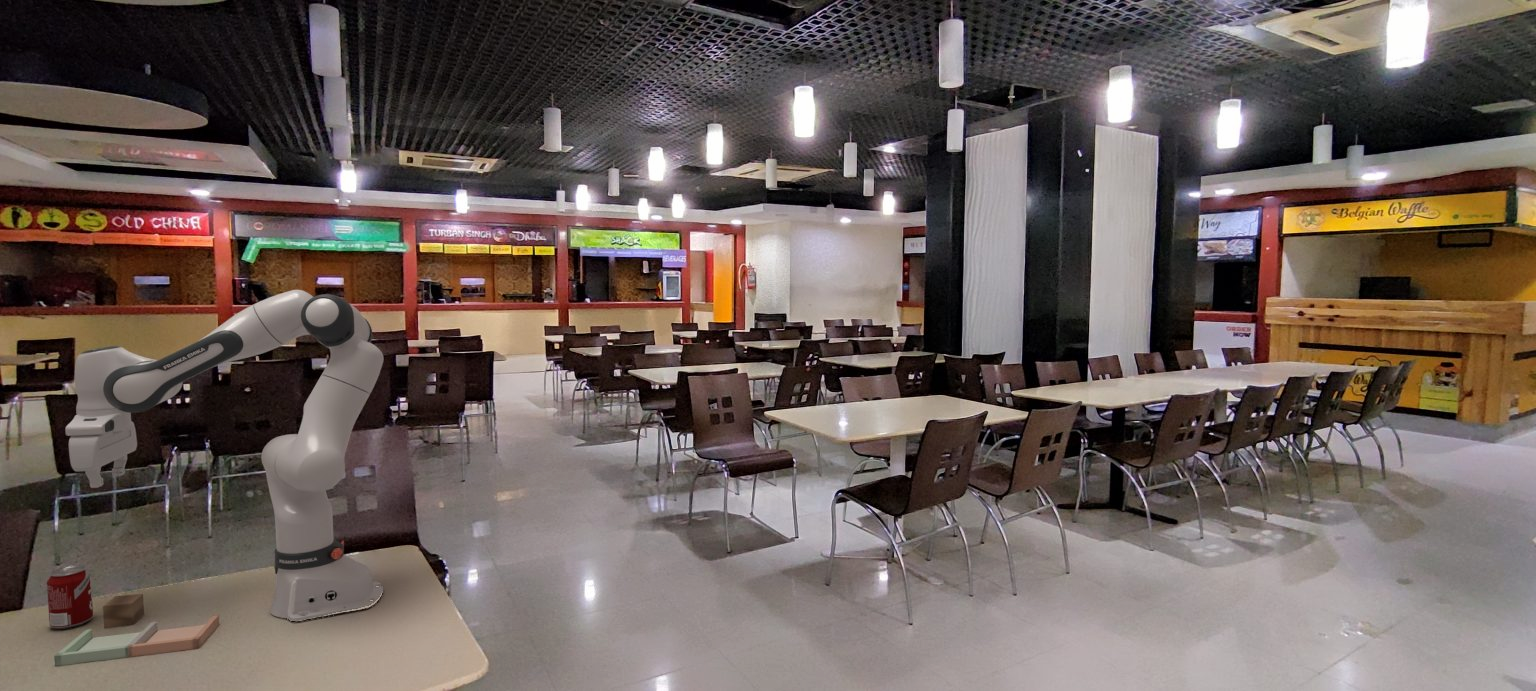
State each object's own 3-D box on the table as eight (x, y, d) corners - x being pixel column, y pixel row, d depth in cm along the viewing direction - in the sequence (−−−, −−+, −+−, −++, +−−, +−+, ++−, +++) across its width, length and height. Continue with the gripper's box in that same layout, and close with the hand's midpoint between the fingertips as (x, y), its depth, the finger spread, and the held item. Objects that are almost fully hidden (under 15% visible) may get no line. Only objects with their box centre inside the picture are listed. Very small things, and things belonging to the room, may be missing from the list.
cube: (144, 615, 160) (143, 593, 160) (133, 625, 156) (131, 603, 155) (116, 618, 159) (115, 596, 158) (104, 628, 154) (102, 606, 154)
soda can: (66, 632, 152) (62, 577, 151) (41, 629, 153) (37, 574, 152) (101, 618, 158) (98, 565, 157) (77, 614, 160) (73, 562, 159)
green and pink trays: (219, 623, 157) (218, 614, 157) (198, 648, 147) (198, 638, 147) (86, 638, 149) (86, 629, 149) (54, 666, 139) (54, 656, 139)
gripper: (110, 412, 168) (113, 470, 170) (60, 429, 149) (64, 495, 151) (144, 411, 171) (147, 468, 172) (98, 428, 151) (102, 492, 153)
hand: (108, 481), depth 161 cm, fingers open, 8 cm apart
